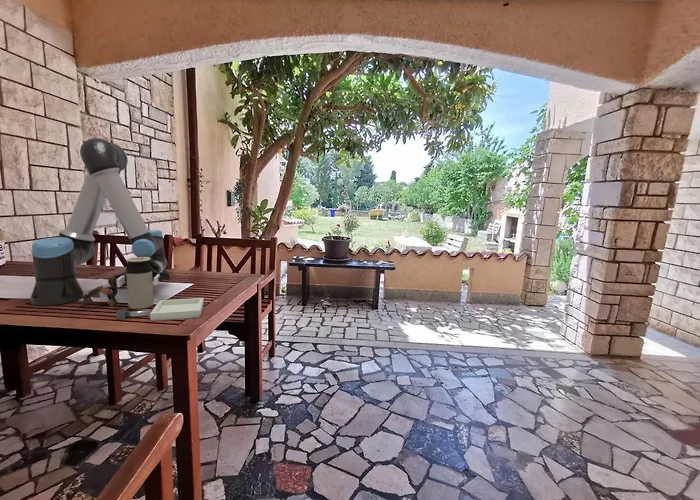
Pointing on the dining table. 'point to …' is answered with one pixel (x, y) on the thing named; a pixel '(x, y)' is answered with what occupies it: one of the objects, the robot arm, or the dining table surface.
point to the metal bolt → (131, 313)
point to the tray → (177, 309)
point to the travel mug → (139, 283)
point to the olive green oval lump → (113, 283)
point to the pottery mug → (107, 291)
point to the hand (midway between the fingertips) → (136, 282)
